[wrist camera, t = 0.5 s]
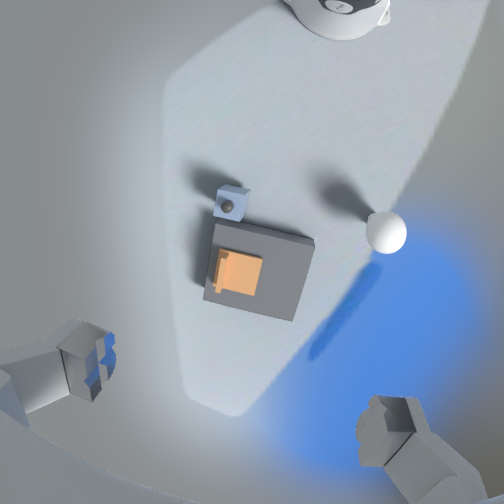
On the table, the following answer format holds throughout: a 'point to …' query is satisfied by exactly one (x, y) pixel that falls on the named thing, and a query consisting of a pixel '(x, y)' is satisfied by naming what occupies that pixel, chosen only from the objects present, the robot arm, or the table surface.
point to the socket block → (262, 268)
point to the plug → (231, 202)
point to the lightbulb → (385, 232)
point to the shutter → (237, 272)
